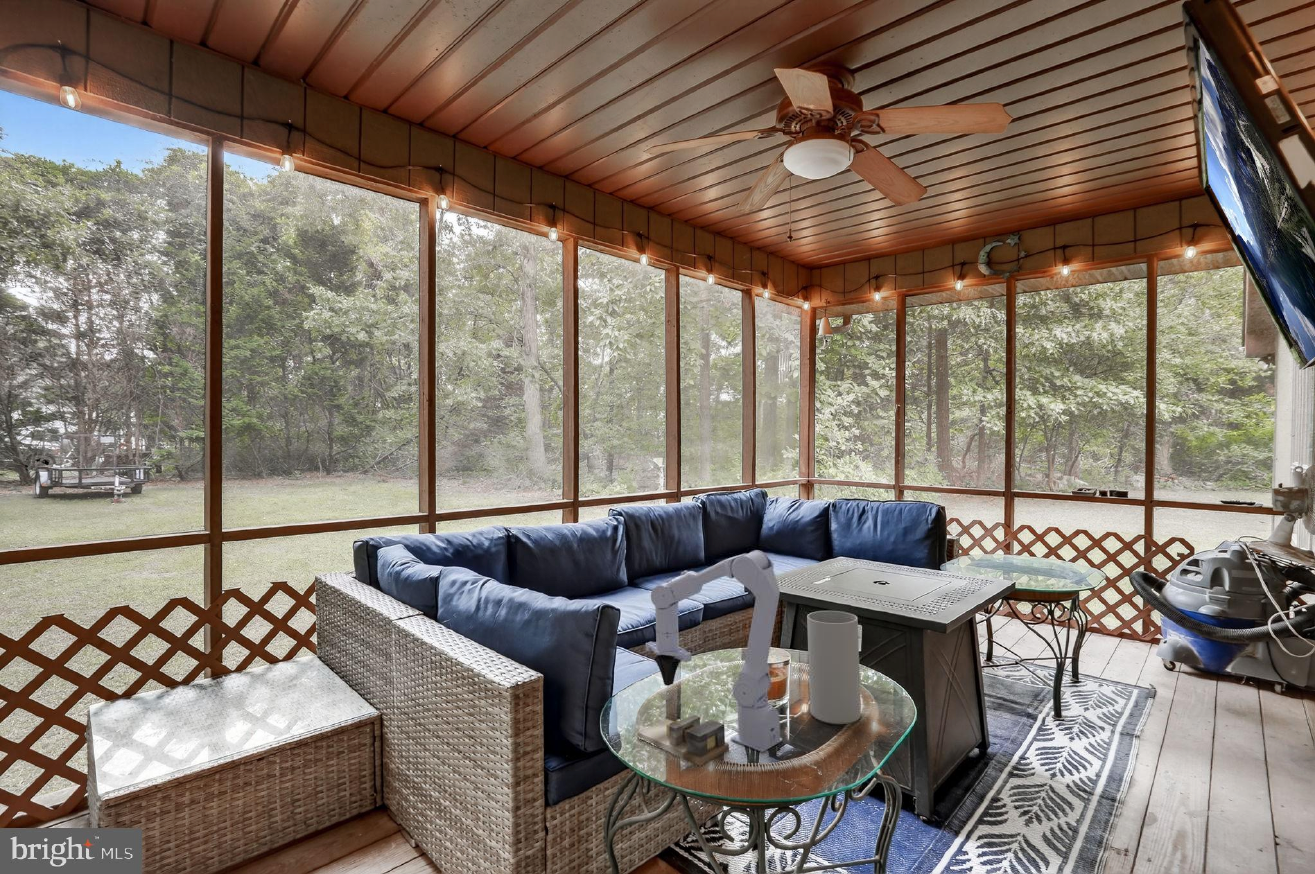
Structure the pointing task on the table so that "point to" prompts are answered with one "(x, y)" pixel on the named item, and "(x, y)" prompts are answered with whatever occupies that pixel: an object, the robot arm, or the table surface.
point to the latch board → (688, 739)
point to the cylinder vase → (834, 666)
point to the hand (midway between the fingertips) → (668, 684)
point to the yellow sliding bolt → (710, 741)
